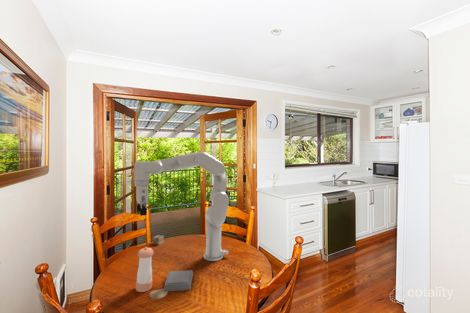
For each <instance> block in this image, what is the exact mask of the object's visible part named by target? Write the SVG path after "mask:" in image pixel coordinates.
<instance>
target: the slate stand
mask: <svg viewBox="0 0 470 313" xmlns="http://www.w3.org/2000/svg"><path fill="white" fill-rule="evenodd" d="M193 276H194V274H193V270H192V269H191V270H188V269H187V270H170V271H169V272H168V274H167V277H166V278H165V279H166V280H165V282H164V284H163V288H164V291H168V292H173V291H174V292H175V291H191V289H192V288H191V286H192V282H193Z"/></svg>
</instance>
